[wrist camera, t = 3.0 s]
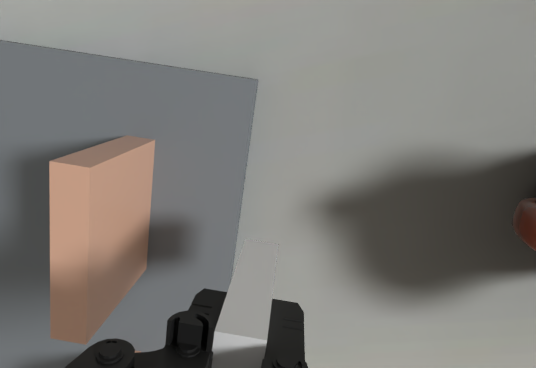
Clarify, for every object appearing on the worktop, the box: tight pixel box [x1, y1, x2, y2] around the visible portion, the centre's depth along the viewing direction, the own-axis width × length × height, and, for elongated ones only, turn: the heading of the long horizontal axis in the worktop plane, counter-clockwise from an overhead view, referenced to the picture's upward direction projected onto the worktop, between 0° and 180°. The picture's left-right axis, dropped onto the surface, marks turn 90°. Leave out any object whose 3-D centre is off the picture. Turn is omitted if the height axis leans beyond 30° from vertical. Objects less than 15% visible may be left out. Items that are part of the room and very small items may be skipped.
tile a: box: [49, 135, 155, 345], centre depth 19 cm, size 8×2×7 cm, turn 172°
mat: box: [0, 40, 258, 368], centre depth 25 cm, size 30×20×1 cm, turn 172°
